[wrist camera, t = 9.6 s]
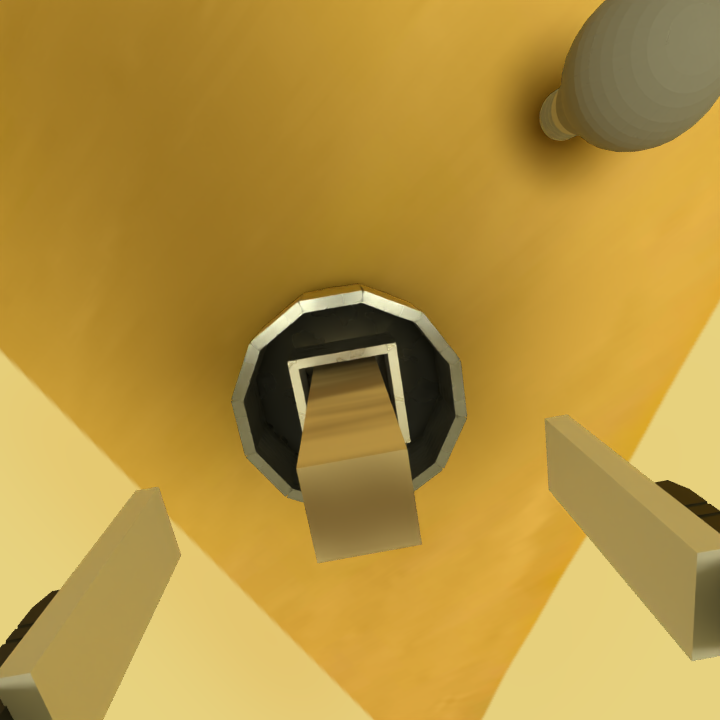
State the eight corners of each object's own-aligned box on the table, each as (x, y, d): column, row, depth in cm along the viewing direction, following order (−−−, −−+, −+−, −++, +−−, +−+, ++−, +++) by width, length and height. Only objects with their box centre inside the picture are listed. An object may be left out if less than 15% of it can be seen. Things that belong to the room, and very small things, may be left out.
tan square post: (314, 363, 27) (296, 468, 14) (373, 353, 27) (407, 449, 14) (325, 419, 28) (317, 563, 15) (382, 409, 28) (422, 544, 15)
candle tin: (230, 304, 26) (209, 317, 22) (432, 269, 27) (450, 274, 22) (274, 485, 30) (263, 527, 25) (454, 453, 30) (475, 489, 25)
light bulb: (531, 195, 26) (649, 167, 16) (487, 92, 24) (587, -6, 15) (628, 140, 25) (807, 77, 16) (588, 32, 24) (760, -111, 14)
